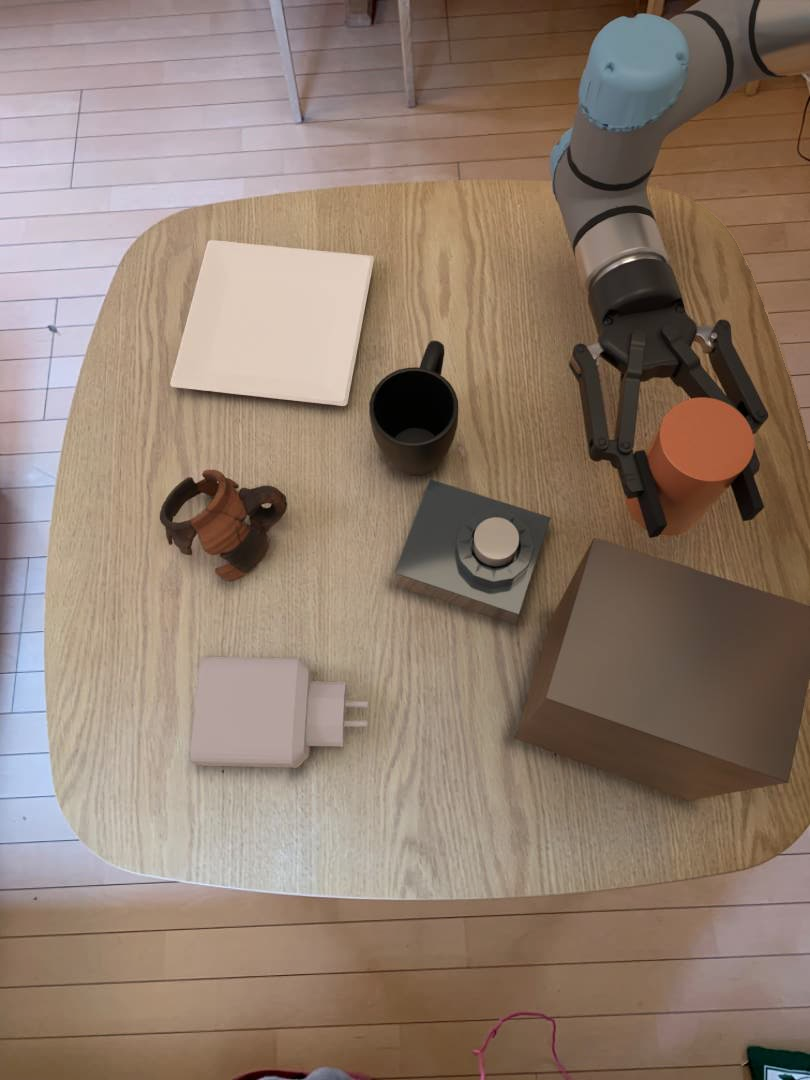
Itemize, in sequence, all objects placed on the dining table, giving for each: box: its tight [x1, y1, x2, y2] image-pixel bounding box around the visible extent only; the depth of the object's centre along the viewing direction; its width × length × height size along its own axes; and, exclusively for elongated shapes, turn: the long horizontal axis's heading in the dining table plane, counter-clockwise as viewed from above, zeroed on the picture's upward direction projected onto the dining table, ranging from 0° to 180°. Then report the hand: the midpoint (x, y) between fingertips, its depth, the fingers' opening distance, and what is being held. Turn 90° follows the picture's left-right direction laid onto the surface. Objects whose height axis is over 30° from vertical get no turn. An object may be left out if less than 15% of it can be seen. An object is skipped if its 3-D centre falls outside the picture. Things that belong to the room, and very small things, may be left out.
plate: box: [169, 239, 375, 407], centre depth 91 cm, size 19×19×2 cm
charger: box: [189, 655, 370, 769], centre depth 76 cm, size 5×9×15 cm
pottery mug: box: [159, 469, 288, 582], centre depth 82 cm, size 12×10×8 cm
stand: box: [513, 536, 810, 802], centre depth 67 cm, size 16×12×22 cm
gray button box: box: [393, 478, 551, 626], centre depth 80 cm, size 12×10×6 cm
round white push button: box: [473, 517, 519, 567], centre depth 76 cm, size 4×4×2 cm
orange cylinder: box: [624, 398, 755, 537], centre depth 69 cm, size 7×7×12 cm
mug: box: [368, 340, 459, 477], centre depth 83 cm, size 8×12×10 cm
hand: (705, 522), depth 67 cm, fingers closed on orange cylinder, 7 cm apart
